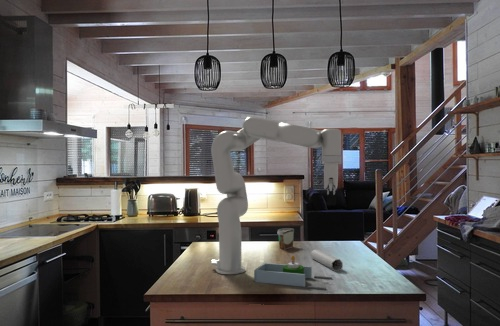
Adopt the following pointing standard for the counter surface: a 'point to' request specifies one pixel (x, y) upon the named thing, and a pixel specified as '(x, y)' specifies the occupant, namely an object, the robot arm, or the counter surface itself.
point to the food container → (285, 238)
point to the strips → (319, 287)
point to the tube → (327, 260)
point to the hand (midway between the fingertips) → (331, 203)
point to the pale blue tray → (280, 275)
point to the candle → (293, 267)
